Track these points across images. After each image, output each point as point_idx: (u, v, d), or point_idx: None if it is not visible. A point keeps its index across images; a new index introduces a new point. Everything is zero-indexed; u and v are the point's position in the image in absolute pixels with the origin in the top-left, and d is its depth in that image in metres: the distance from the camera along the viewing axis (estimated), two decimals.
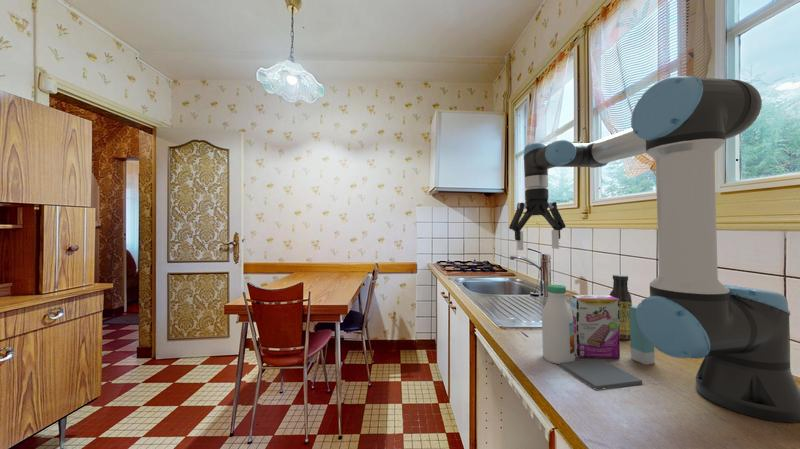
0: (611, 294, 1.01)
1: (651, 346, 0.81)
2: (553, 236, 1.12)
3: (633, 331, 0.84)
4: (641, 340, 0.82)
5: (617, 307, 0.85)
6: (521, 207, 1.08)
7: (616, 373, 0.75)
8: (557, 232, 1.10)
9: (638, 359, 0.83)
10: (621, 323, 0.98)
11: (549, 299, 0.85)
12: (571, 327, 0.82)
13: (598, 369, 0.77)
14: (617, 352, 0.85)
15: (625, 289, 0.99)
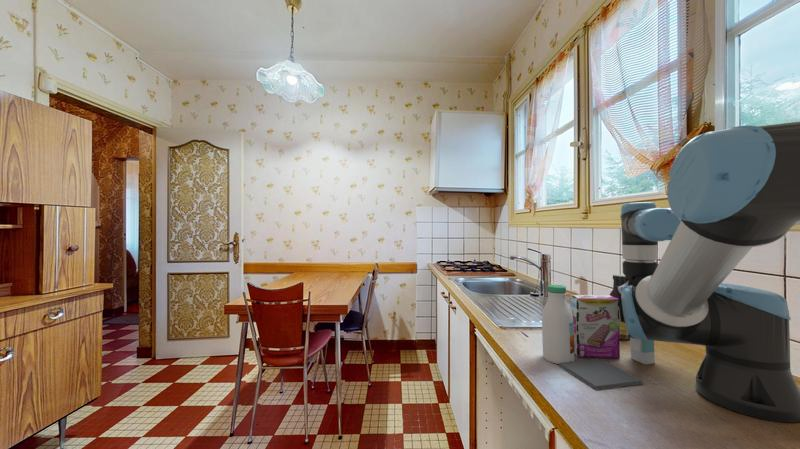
0: (611, 294, 1.01)
1: (651, 346, 0.81)
2: None
3: None
4: None
5: (617, 307, 0.85)
6: None
7: (616, 373, 0.75)
8: None
9: (638, 359, 0.83)
10: (621, 323, 0.98)
11: (549, 299, 0.85)
12: (571, 327, 0.82)
13: (598, 369, 0.77)
14: (617, 352, 0.85)
15: None
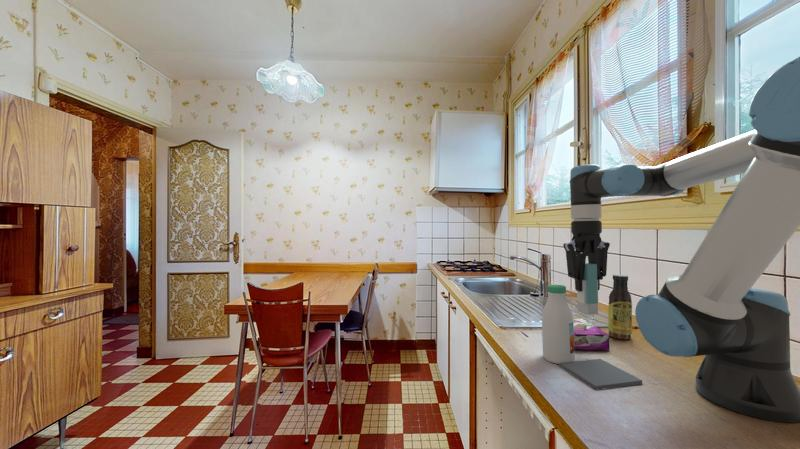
0: (611, 294, 1.01)
1: (595, 298, 0.88)
2: None
3: None
4: (586, 293, 0.88)
5: (584, 320, 1.04)
6: (571, 250, 0.88)
7: (616, 373, 0.75)
8: None
9: (583, 311, 0.89)
10: (621, 323, 0.98)
11: (549, 299, 0.85)
12: (571, 327, 0.82)
13: (598, 369, 0.77)
14: (603, 332, 0.92)
15: (625, 289, 0.99)
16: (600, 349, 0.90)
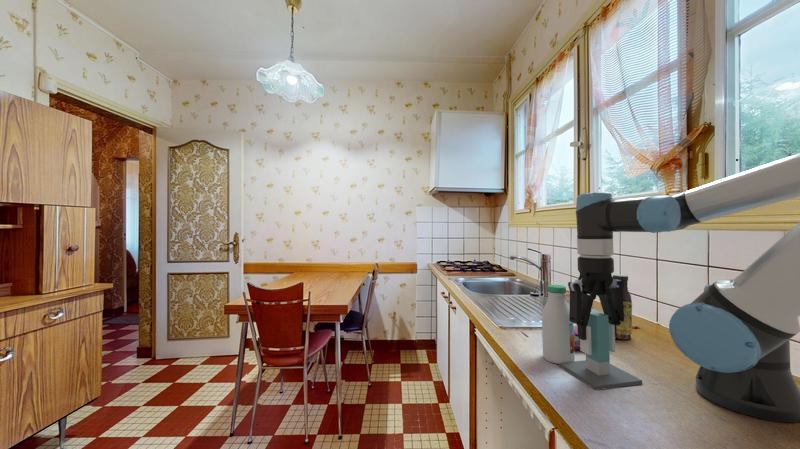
0: None
1: (606, 355, 0.75)
2: None
3: None
4: (595, 349, 0.75)
5: None
6: (577, 290, 0.74)
7: (616, 373, 0.75)
8: (613, 328, 0.76)
9: (593, 369, 0.76)
10: (621, 323, 0.98)
11: (549, 299, 0.85)
12: (571, 327, 0.82)
13: None
14: None
15: (625, 289, 0.99)
16: None
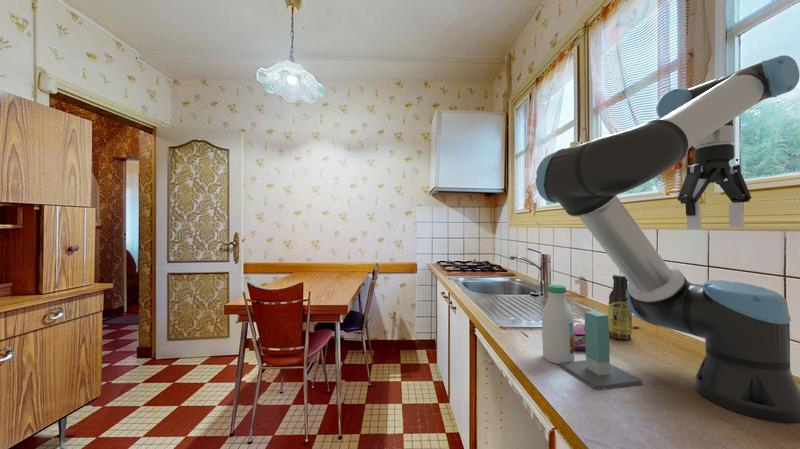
0: (611, 294, 1.01)
1: (606, 355, 0.75)
2: (733, 211, 0.83)
3: (588, 339, 0.77)
4: (595, 349, 0.75)
5: (584, 320, 1.04)
6: (697, 170, 0.79)
7: (616, 373, 0.75)
8: (742, 205, 0.82)
9: (593, 369, 0.76)
10: (621, 323, 0.98)
11: (549, 299, 0.85)
12: (571, 327, 0.82)
13: None
14: None
15: (625, 289, 0.99)
16: None
